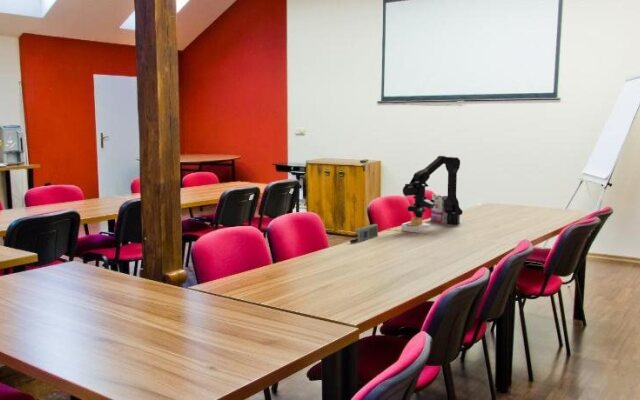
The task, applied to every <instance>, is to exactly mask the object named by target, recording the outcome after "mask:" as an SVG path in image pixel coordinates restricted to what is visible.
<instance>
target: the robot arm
mask: <svg viewBox="0 0 640 400" xmlns="http://www.w3.org/2000/svg"><path fill="white" fill-rule="evenodd" d="M443 164H444V165H445V169H446V171H447V195H446V196H447V198H446V200H444V205H443V206H444V209H445V211H446V213H448V216H447V222H445V223H446V225H453V226H458V225H460V224H461V222H460V217H461V215H463V210H462V209H461V207H460V203H459V200H458V198H457V182H458V181H457V180H458V179H457V176H458V174H457V173H458V172H459V169H460V165H461V159H460V158H459V157H453V156H445V155H438V156H437V157H436V158H435V159H434V160H433V161H432V162H431V163H430V164H428V165H426V167H424V168H422V169H420V170H418V171H416V172H415V173H414V174H413V176H412V178H411V180H410V181H409V183H405V185H404V187H402V194H403V195H404V196H405V197H410V196H411V197H412V196H413V199H414V203H413V204H411V205H408V206H407V208H406V209H407V212H413V214H414V215H415V217H421V218H422V219H423V215H424V213H426V211H427V209H428V210H431V209H433V207H434V205H435V200H434V199H432V198H431V199H428V197H427V196H426V188H427V187H429V184H428V183H427V181H428V180H429V179H430V176H431V175H432V174H433V173H434V172H436V170H438V169H439V168H440V167H441V166H443ZM425 208H427V209H425Z"/></svg>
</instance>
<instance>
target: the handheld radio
mask: <svg viewBox="0 0 640 400" xmlns="http://www.w3.org/2000/svg"><path fill="white" fill-rule="evenodd" d="M378 228H379V227H378V224H377V223H372V224H370V225H367V226H363V227H358V228H356V229H354V232H355V233H354V238H355V239H350V240H349V243H351V244H352V243H356V242H357V243H360V242H364V241H367V240H369V239H373V238H376V237H379V231H378V230H379V229H378Z"/></svg>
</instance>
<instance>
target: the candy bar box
mask: <svg viewBox="0 0 640 400" xmlns="http://www.w3.org/2000/svg"><path fill="white" fill-rule="evenodd" d="M447 196H448V195H445V194H438V193H433V194H431V200H432V199H434V200H435V205H434V207H433V209H430V221H433V222H437V223H442V224H443V223H447V216H448V213H446V211H445V209H444V206H443V205H444V200H446V198H447Z"/></svg>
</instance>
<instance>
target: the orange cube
mask: <svg viewBox="0 0 640 400" xmlns="http://www.w3.org/2000/svg"><path fill="white" fill-rule="evenodd" d="M410 221H411V225H413V226H420V225H422V223H423V217H422V218H421V217H416V216H414V217H412V218H411V219H410Z"/></svg>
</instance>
